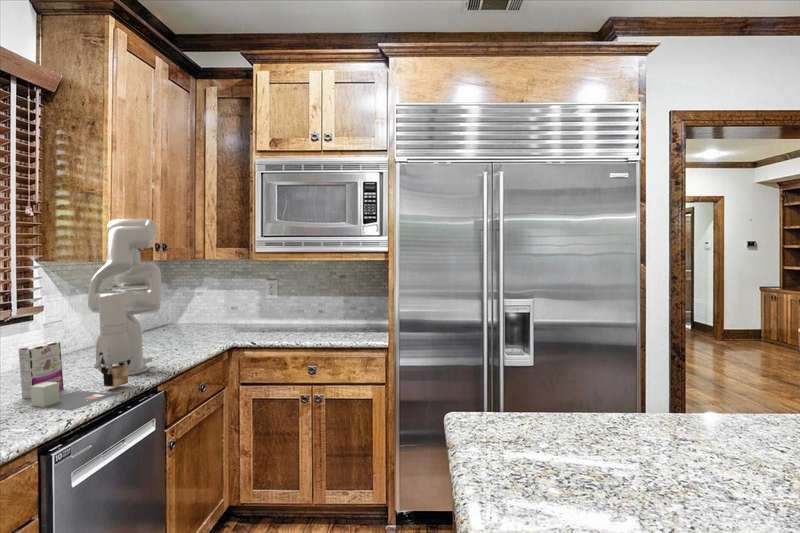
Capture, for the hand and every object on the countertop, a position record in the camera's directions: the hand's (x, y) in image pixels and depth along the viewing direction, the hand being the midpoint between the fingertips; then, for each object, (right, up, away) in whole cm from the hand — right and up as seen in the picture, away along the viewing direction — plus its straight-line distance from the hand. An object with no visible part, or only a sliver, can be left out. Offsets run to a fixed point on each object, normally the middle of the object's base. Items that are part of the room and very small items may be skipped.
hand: (115, 382), depth 165 cm
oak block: (0, -1, 0) cm, 1 cm away
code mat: (-6, -3, -12) cm, 14 cm away
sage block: (-13, -3, -15) cm, 20 cm away
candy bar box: (-22, -3, -4) cm, 23 cm away
